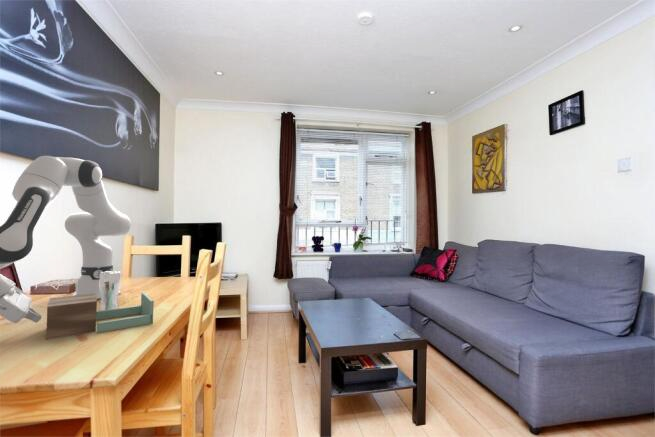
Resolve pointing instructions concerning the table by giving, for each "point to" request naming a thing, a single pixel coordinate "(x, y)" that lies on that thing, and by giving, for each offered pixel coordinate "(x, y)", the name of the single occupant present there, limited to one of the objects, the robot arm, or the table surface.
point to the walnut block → (71, 315)
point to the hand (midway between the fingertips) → (39, 319)
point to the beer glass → (109, 289)
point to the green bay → (143, 309)
